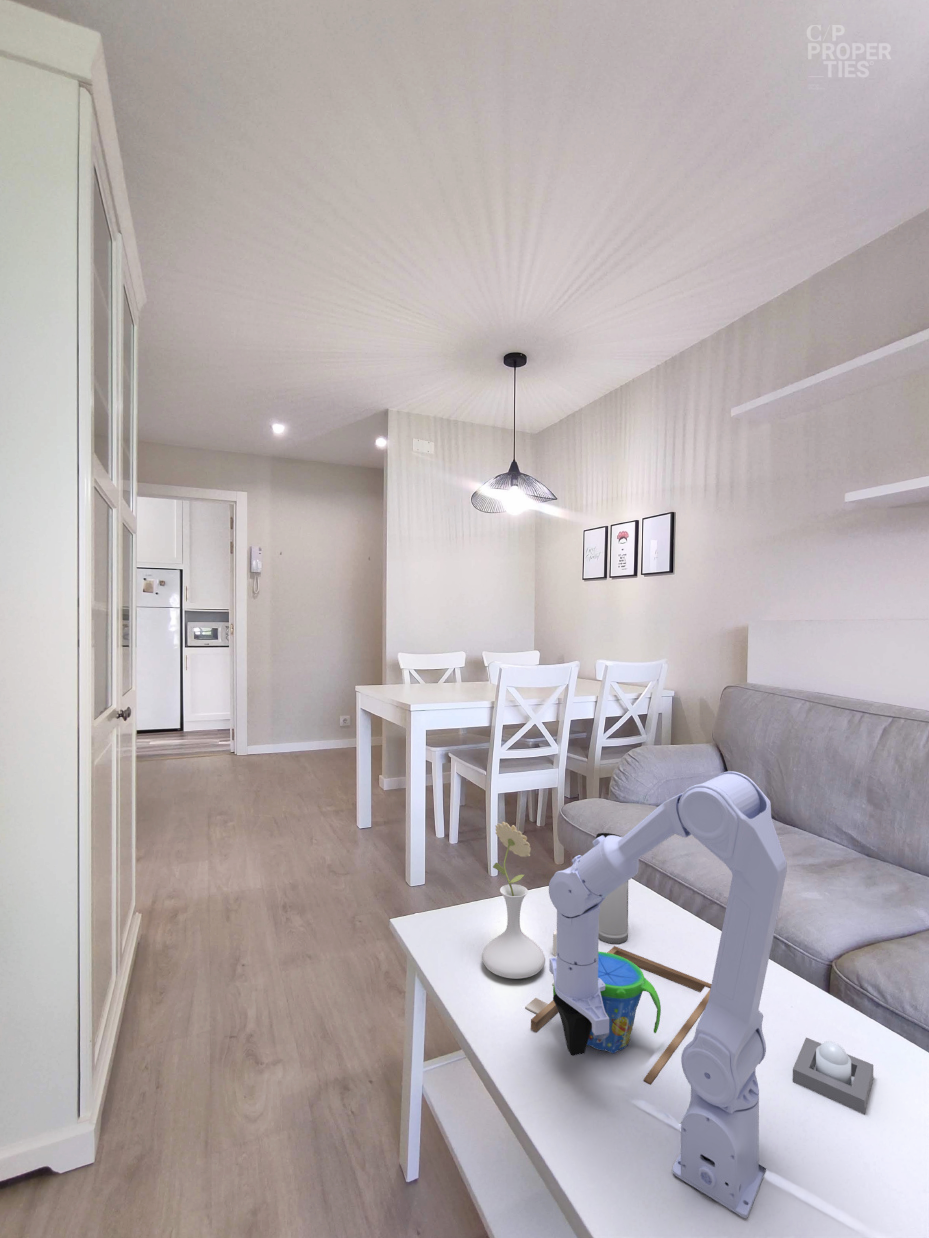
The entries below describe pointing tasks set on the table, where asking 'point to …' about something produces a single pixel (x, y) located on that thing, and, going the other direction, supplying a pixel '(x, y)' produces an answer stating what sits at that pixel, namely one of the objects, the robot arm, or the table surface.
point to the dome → (833, 1062)
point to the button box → (831, 1087)
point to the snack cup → (620, 1000)
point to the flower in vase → (513, 920)
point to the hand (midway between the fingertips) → (576, 1051)
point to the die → (555, 943)
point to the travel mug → (614, 913)
